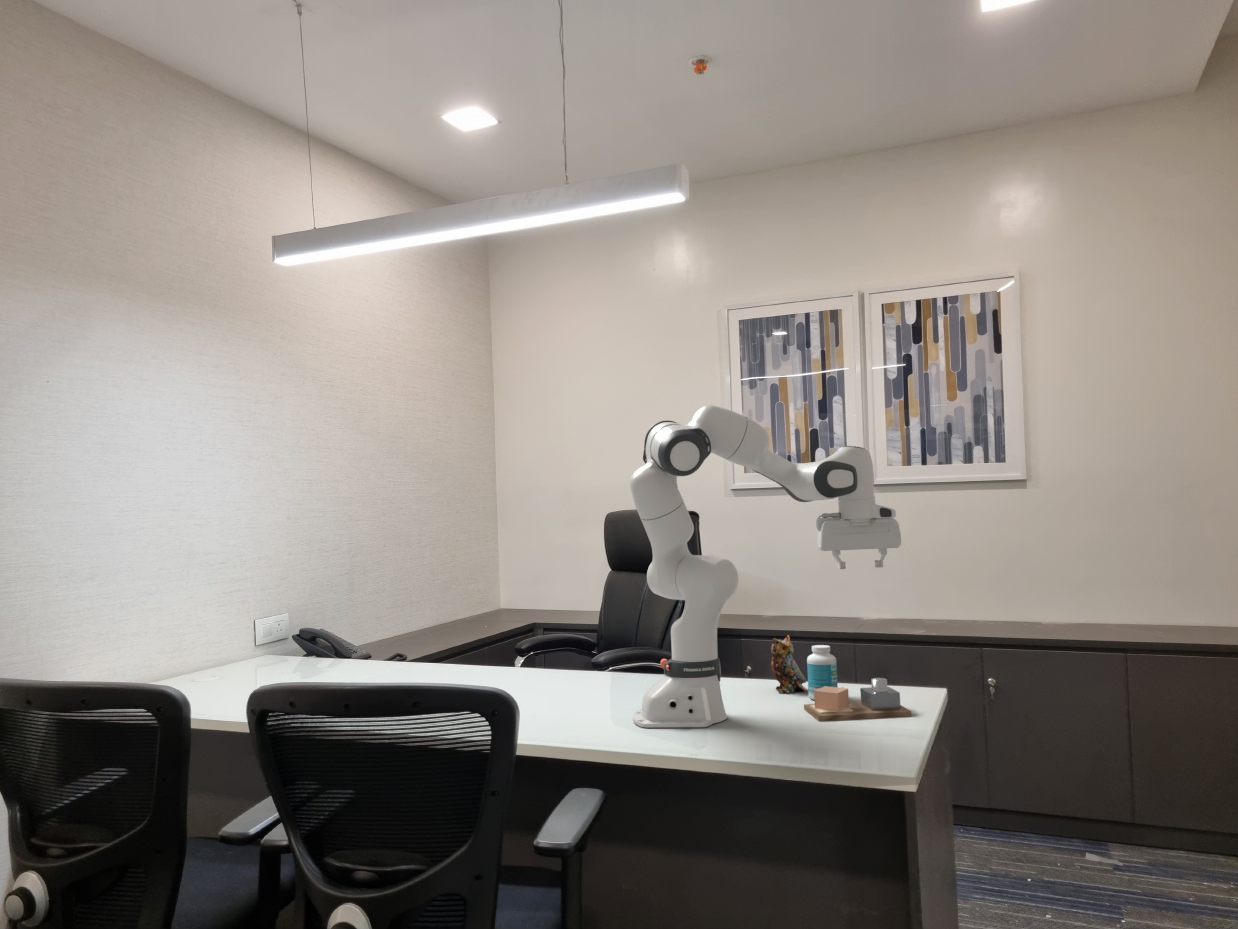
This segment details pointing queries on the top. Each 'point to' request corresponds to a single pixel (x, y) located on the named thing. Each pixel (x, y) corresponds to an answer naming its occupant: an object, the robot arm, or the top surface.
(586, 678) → the top surface
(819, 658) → the pill bottle
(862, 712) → the board
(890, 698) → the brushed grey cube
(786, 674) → the figurine
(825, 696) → the salmon pink block
